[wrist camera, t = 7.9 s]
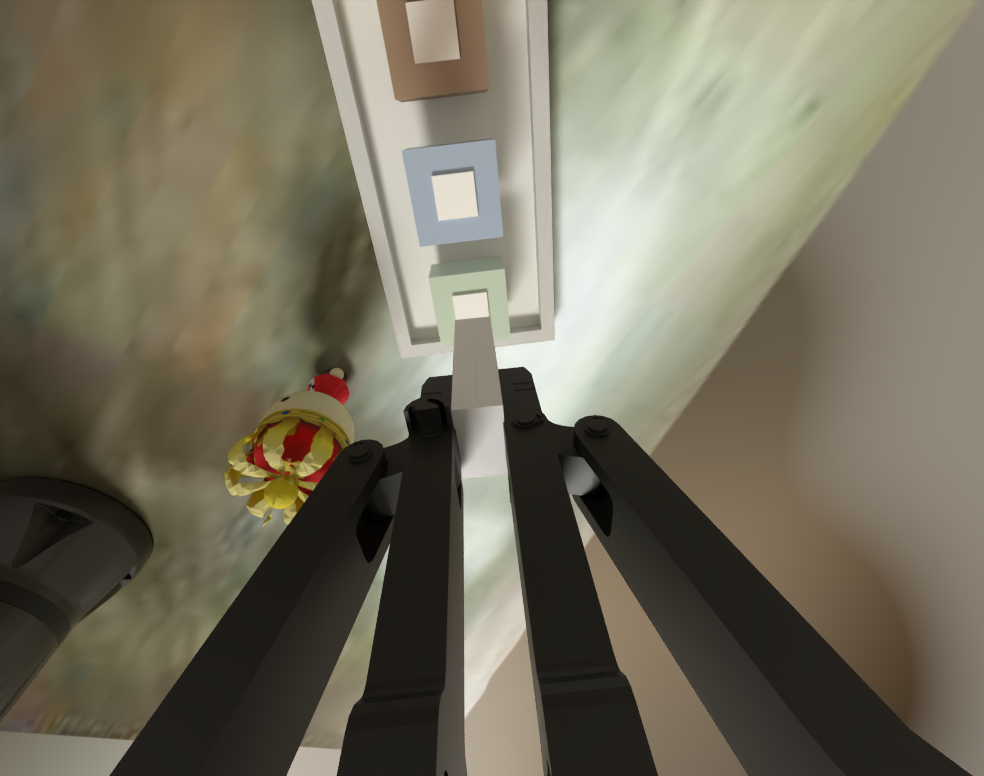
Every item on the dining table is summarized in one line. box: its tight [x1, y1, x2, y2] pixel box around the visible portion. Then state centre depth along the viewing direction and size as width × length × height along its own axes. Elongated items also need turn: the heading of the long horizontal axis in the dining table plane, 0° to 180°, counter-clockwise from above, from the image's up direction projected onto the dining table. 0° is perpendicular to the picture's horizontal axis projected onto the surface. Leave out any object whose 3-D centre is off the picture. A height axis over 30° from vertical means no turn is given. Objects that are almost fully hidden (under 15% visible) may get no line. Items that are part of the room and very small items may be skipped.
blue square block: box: [402, 138, 503, 247], centre depth 23 cm, size 5×5×3 cm
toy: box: [224, 368, 354, 527], centre depth 29 cm, size 7×7×15 cm
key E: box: [429, 256, 511, 346], centre depth 28 cm, size 5×5×3 cm
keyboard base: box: [312, 0, 555, 358], centre depth 25 cm, size 12×30×2 cm, turn 6°
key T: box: [376, 0, 489, 102], centre depth 21 cm, size 5×5×3 cm
